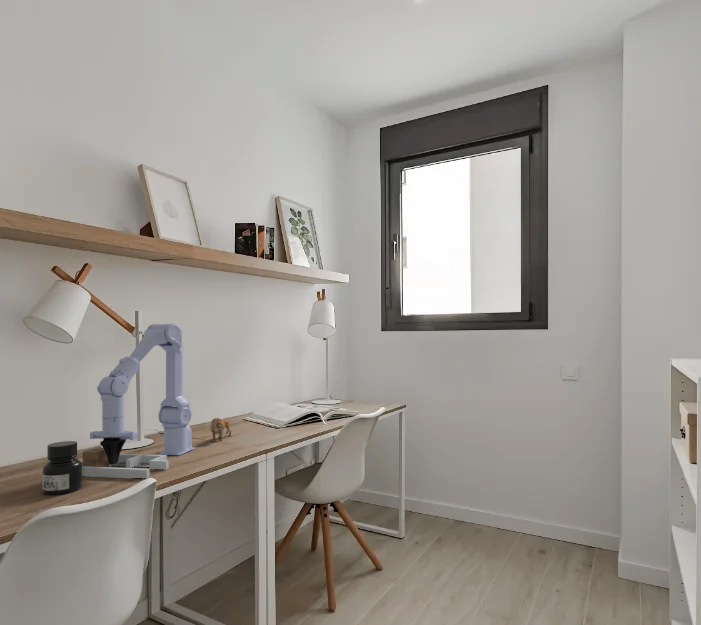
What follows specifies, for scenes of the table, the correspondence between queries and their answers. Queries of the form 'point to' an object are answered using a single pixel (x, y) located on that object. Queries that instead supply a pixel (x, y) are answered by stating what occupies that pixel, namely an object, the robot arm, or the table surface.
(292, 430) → the table surface
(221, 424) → the lion figurine
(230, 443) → the table surface
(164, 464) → the trap box
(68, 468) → the ink bottle
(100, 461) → the walnut block
